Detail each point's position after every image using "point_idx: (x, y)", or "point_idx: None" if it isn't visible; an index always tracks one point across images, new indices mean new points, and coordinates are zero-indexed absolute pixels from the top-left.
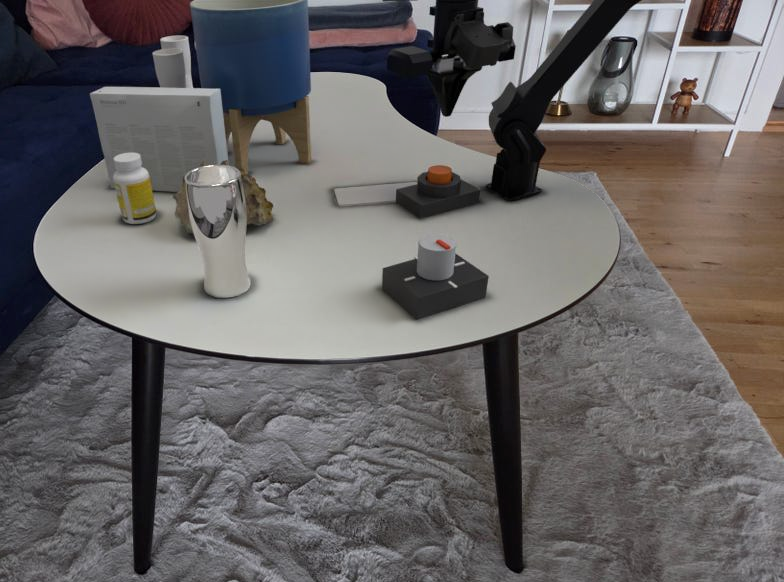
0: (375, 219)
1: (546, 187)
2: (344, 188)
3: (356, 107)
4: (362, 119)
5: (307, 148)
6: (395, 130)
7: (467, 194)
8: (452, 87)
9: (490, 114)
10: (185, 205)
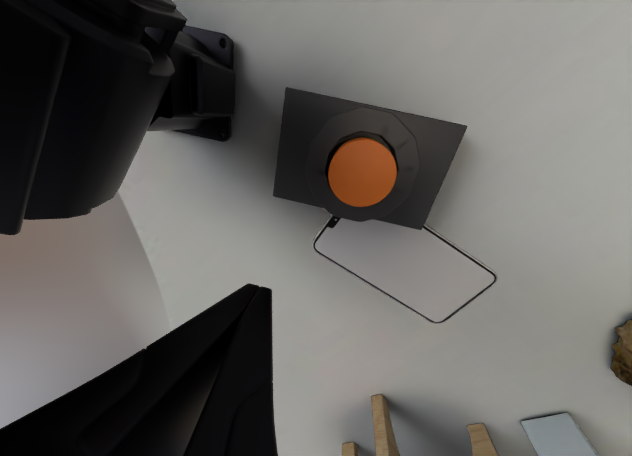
0: (511, 191)
1: None
2: (425, 313)
3: None
4: None
5: (385, 421)
6: None
7: (326, 96)
8: (162, 430)
9: (73, 204)
10: None
